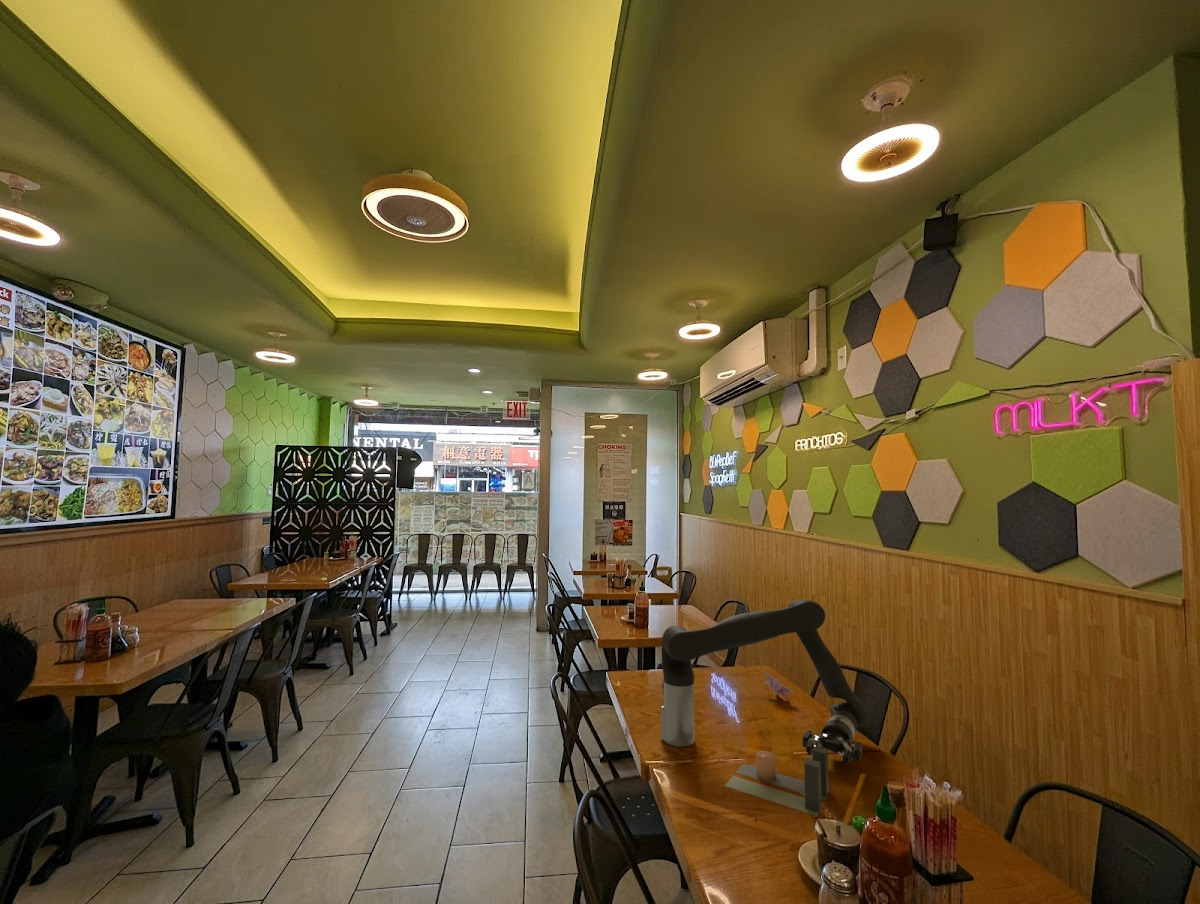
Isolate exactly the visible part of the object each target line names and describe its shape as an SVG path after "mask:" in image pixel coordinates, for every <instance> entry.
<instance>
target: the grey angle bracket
mask: <svg viewBox="0 0 1200 904" xmlns="http://www.w3.org/2000/svg"><path fill="white" fill-rule="evenodd" d="M803 771H804V781H805V794H804V797H803V796H799V795H796V794H793V793H790V792H786V791H783V790H781V789H778V788H775V787H771V786H767V785H764V784H761V783H758V782H754V781H751V780H749V779H745V778H743V777H738V776H735V775H732V777H731V778H730V779H729V780H728V781H727V783H726V784H725V785H724V787H726V788H729V789H732V790H736V791H739V792H741V793H745V794H748V795H751V796H754V797H757V798H760V799H763V800H766V801H769V802H773V803H776V804H779V805H782V806H785V807H788V808H791V809H794V810H796V811H799V812H803V813H807V814H810V815H812V816H816V817H818V816H819V814H820V812H821V810H822V807H823V805H824V803H823V802H822V801H823V799H822V792H821V762H819V761H815V760H813V758H812V759H811V758H808V757H807V759H806V760H805V762H804V770H803Z"/></svg>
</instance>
